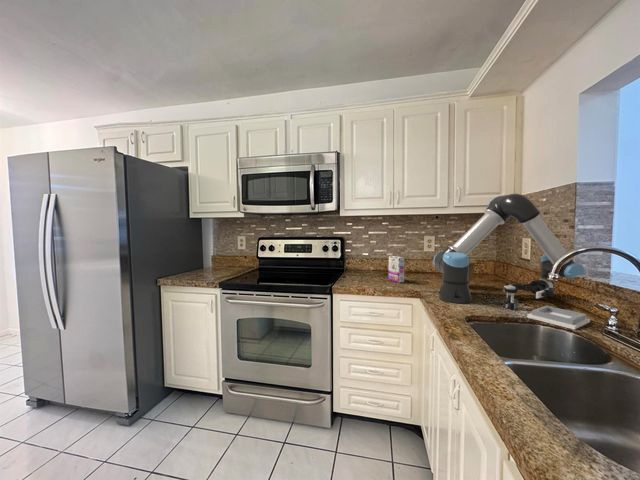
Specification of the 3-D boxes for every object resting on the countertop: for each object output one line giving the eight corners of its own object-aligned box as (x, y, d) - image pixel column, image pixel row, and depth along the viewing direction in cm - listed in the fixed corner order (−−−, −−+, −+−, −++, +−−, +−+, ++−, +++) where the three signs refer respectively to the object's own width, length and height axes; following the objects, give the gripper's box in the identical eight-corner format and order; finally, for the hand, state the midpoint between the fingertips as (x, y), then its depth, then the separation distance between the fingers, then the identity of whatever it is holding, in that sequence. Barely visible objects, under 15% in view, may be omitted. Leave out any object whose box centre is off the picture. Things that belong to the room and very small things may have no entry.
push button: (498, 305, 129) (499, 284, 129) (510, 305, 129) (510, 284, 129) (507, 309, 123) (508, 287, 122) (519, 310, 123) (520, 288, 122)
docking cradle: (527, 317, 113) (527, 310, 113) (543, 311, 121) (544, 304, 120) (574, 329, 100) (575, 321, 100) (589, 322, 108) (590, 314, 108)
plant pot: (441, 284, 173) (442, 259, 172) (463, 283, 175) (464, 258, 174) (456, 290, 158) (457, 262, 157) (480, 289, 160) (481, 262, 159)
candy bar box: (404, 282, 178) (405, 257, 177) (398, 283, 176) (399, 257, 175) (393, 279, 188) (394, 255, 187) (387, 279, 187) (388, 255, 185)
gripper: (571, 299, 131) (551, 306, 120) (513, 288, 152) (492, 293, 141) (572, 284, 130) (552, 289, 119) (513, 275, 152) (492, 279, 141)
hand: (519, 292), depth 130 cm, fingers open, 13 cm apart
